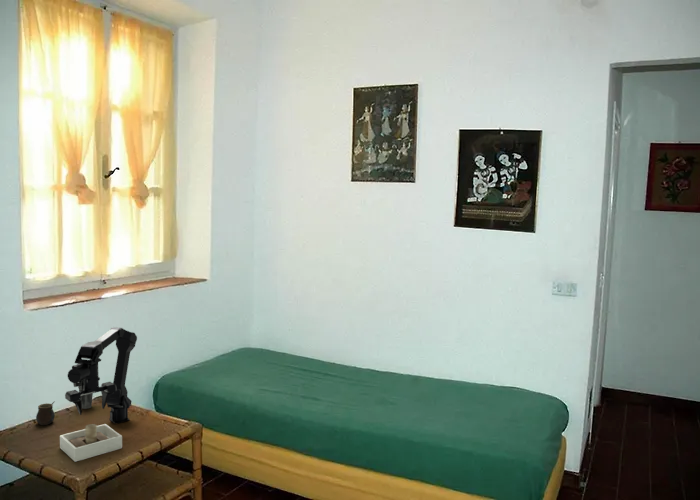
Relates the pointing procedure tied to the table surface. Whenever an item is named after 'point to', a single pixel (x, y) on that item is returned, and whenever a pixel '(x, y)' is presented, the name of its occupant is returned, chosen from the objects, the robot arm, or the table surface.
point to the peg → (91, 433)
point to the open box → (94, 448)
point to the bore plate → (82, 440)
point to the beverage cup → (86, 400)
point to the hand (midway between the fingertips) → (91, 411)
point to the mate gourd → (45, 414)
